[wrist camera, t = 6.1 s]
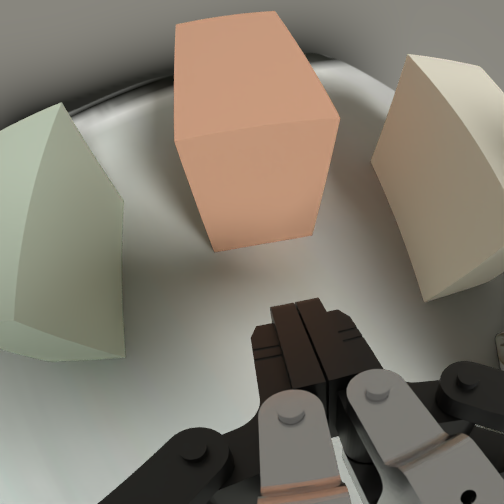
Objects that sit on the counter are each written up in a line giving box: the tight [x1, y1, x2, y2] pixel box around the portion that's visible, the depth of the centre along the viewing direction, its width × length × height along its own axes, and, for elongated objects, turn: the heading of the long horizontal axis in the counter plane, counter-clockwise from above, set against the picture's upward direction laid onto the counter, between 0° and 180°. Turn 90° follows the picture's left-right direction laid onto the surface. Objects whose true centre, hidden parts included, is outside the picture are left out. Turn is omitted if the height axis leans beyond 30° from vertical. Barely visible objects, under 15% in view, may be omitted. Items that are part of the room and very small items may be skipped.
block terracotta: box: [174, 11, 340, 252], centre depth 14 cm, size 5×9×8 cm, turn 10°
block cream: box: [370, 54, 504, 302], centre depth 12 cm, size 5×9×8 cm, turn 10°
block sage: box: [0, 103, 126, 362], centre depth 12 cm, size 5×9×8 cm, turn 10°
